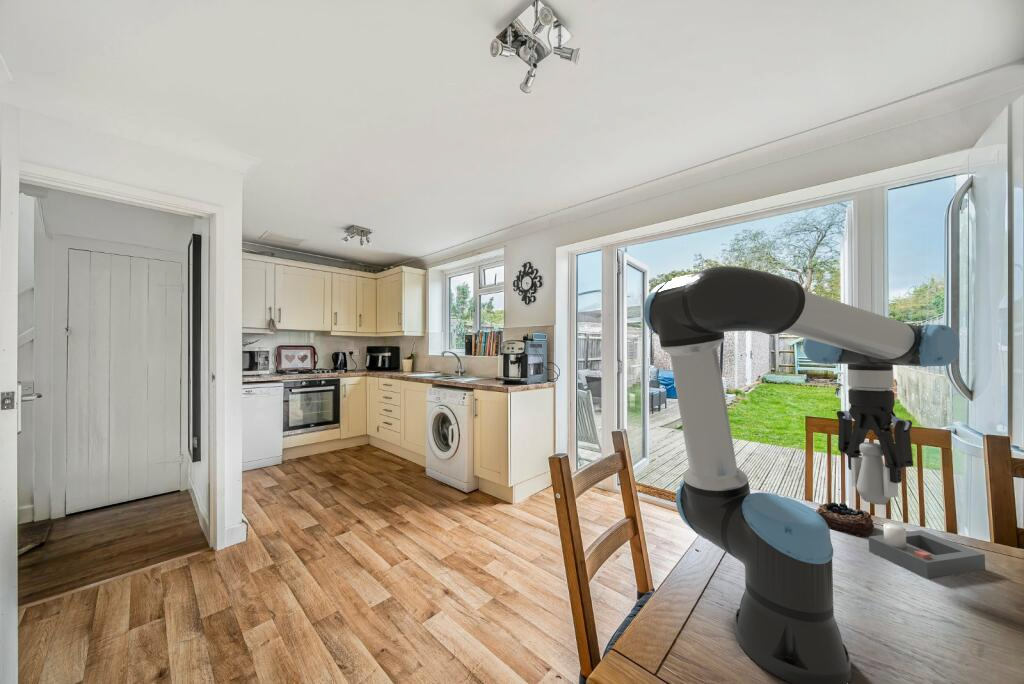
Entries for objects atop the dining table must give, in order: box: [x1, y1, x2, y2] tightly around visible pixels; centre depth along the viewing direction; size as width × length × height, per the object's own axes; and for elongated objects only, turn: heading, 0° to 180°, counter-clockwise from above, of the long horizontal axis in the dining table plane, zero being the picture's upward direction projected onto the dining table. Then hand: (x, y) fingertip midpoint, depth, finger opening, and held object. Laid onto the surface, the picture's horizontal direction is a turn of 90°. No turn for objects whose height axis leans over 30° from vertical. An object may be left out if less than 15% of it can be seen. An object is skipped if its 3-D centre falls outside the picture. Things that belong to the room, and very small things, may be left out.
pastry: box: [815, 501, 875, 538], centre depth 102 cm, size 11×12×6 cm
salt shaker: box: [856, 441, 892, 506], centre depth 83 cm, size 6×6×13 cm
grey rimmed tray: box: [868, 522, 986, 580], centre depth 85 cm, size 16×11×8 cm
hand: (874, 490), depth 83 cm, fingers closed on salt shaker, 6 cm apart
